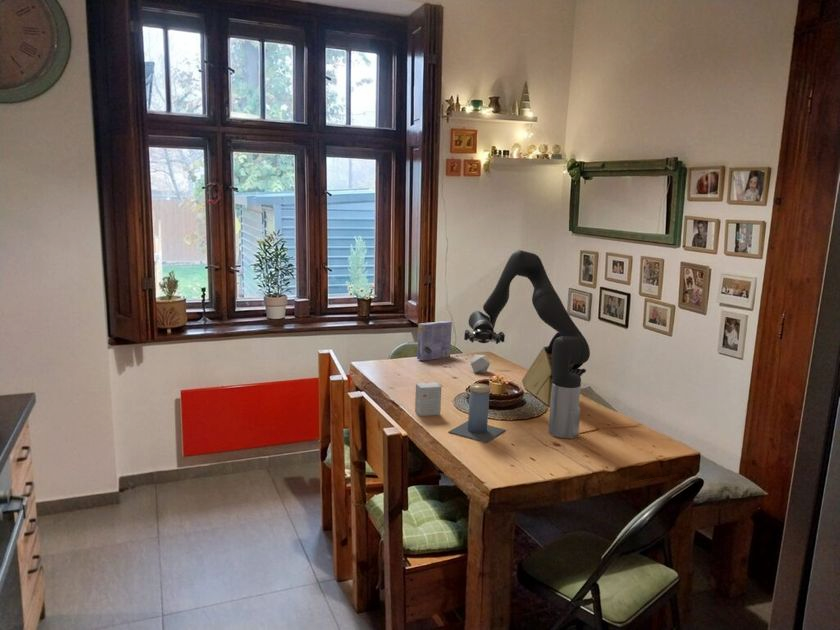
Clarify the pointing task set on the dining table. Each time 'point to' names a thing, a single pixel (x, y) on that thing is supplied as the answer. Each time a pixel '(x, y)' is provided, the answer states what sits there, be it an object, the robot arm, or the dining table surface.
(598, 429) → the dining table surface
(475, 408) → the jar
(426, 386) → the small box
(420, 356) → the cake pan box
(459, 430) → the mat
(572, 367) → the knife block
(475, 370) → the die
